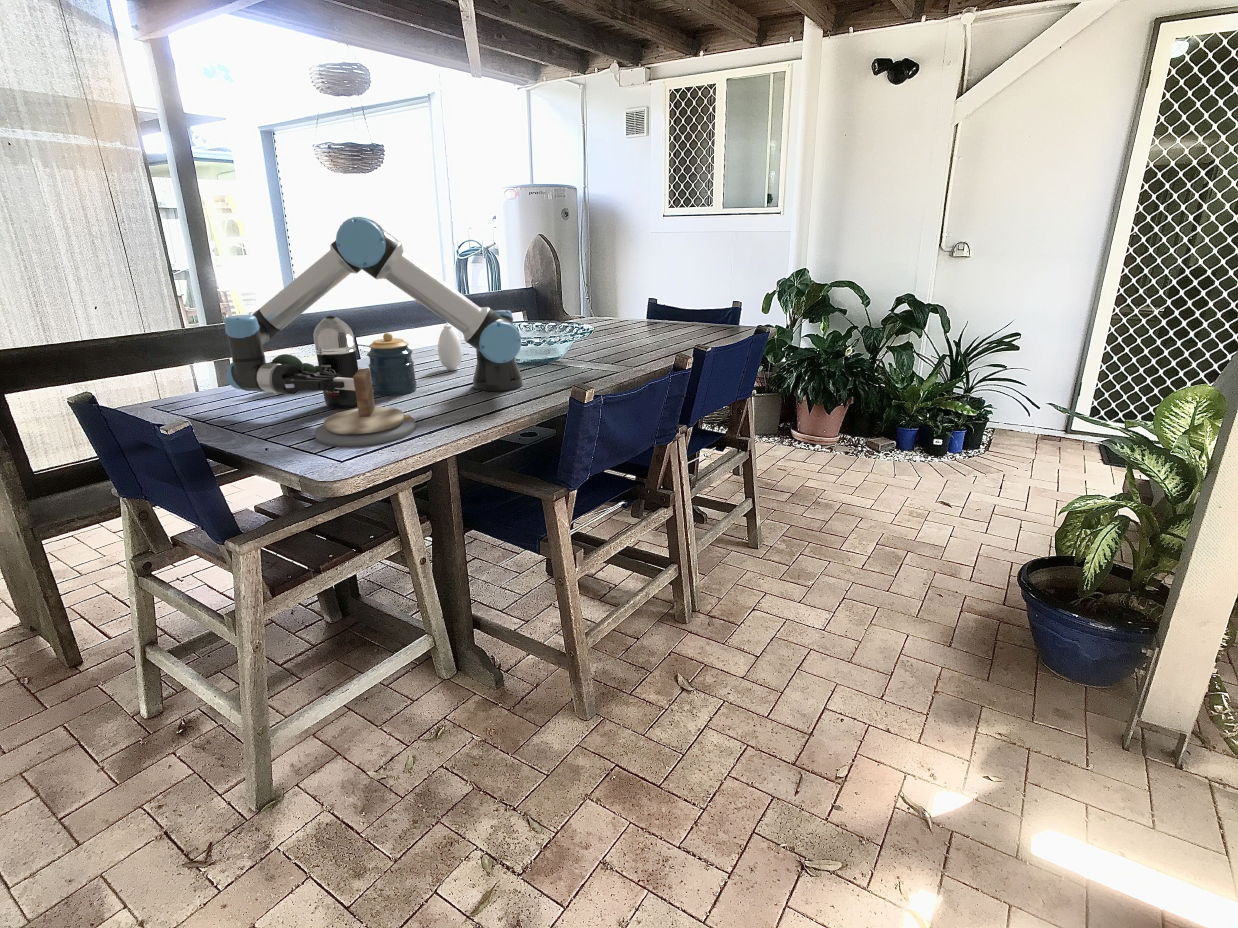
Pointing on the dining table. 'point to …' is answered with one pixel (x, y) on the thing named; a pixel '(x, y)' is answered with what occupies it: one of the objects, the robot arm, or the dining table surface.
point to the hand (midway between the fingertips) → (357, 384)
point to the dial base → (365, 435)
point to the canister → (391, 366)
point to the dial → (364, 411)
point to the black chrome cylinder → (336, 358)
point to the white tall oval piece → (449, 348)
